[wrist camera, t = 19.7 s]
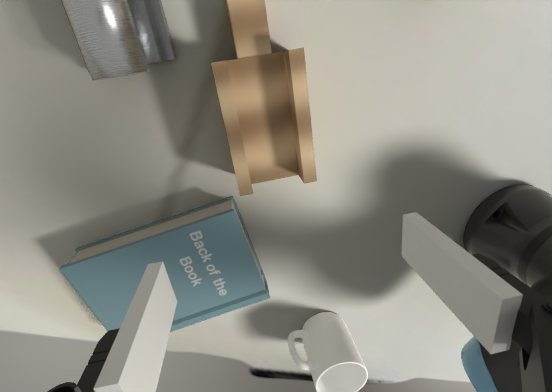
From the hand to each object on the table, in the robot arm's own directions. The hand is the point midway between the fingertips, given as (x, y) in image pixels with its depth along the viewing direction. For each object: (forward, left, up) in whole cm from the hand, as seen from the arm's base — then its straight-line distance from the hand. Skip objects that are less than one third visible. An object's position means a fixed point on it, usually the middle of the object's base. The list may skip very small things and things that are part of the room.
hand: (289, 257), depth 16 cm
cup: (-5, +35, -25) cm, 43 cm away
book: (+14, +16, -26) cm, 34 cm away
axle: (+11, -17, -19) cm, 28 cm away
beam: (-2, -6, -25) cm, 26 cm away
